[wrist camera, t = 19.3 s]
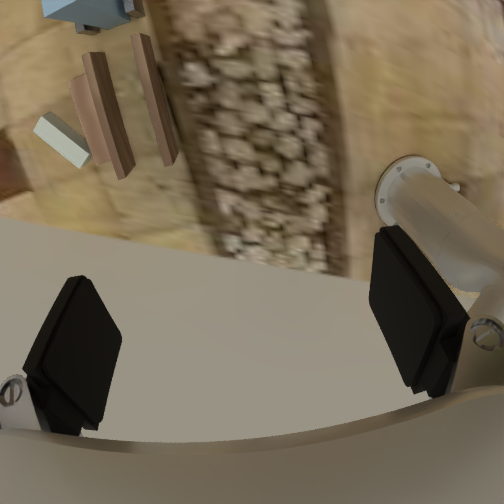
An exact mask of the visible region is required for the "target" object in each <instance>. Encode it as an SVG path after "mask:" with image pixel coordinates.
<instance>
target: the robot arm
mask: <svg viewBox="0 0 504 504" xmlns="http://www.w3.org/2000/svg"><path fill="white" fill-rule="evenodd" d="M459 190H460V186H459V184H458V183H452V184H448V183H447V182H446V181H444V180H443V179H442V176H441V174H440V171H439V170H438V168H437V167H436V165H435V164H434V163H432V162H431V161H430V160H428V159H426V158H424V157H421V156H415V155H413V156H407V157H404V158H401V159H399V160H397V161H396V162H394V163H393V164H392V165H391V166H389V168H388V169H387V170H386V171H385V172H384V174H383V175H382V177H381V179H380V181H379V183H378V186H377V189H376V194H375V204H376V209H377V212H378V214H379V216H380V218H381V219H382V220H383V221H384V223H385V224H387V225H388V226H386V227H382V228H380V231H379V232H378V233H376V234H375V240H374V252H373V263H372V273H371V282H370V291H369V304H370V307H371V309H372V311H373V313H374V316H375V318H376V320H377V322H378V324H379V326H380V329H381V331H382V333H383V335H384V337H385V340H386V342H387V344H388V346H389V348H390V350H391V353H392V355H393V358H394V360H395V362H396V365H397V367H398V369H399V372H400V374H401V376H402V379H403V381H404V383H405V385H406V386H407V387H410V386H411V389H412V391H413V393H414V394H417V393H420V392H423V391H427V394H428V396H429V397H430V399H429V400H427V401H424V402H421V403H418V404H415V405H411V406H408V407H405V408H402V409H398V410H395V411H391V412H388V413H384V414H380V415H377V416H373V417H369V418H365V419H361V420H357V421H353V422H349V423H344V424H340V425H335V426H331V427H326V428H321V429H315V430H310V431H304V432H298V433H292V434H285V435H278V436H271V437H262V438H253V439H243V440H231V441H215V442H188V443H161V442H133V441H118V440H106V439H96V438H88V437H83V435H82V433H81V428H82V427H83V428H84V429H86V430H96V431H97V430H98V426H99V423H100V422H101V421H102V419H103V416H104V411H105V406H106V402H107V397H108V393H109V389H110V385H111V381H112V377H113V373H114V369H115V365H116V362H117V358H118V354H119V350H120V346H121V343H122V336H121V333H120V331H119V329H118V328H117V326H116V324H115V323H114V321H113V319H112V317H111V316H110V314H109V312H108V311H107V309H106V307H105V305H104V303H103V302H102V300H101V298H100V296H99V294H98V293H97V291H96V289H95V287H94V285H93V283H92V281H91V280H90V279H87V278H86V277H85V276H83V275H81V276H74V277H70V278H68V279H67V281H66V282H65V284H64V286H63V288H62V289H61V291H60V293H59V295H58V297H57V299H56V300H55V302H54V304H53V306H52V308H51V310H50V312H49V314H48V316H47V317H46V319H45V321H44V323H43V325H42V327H41V329H40V331H39V333H38V335H37V337H36V339H35V342H34V344H33V346H32V348H31V350H30V352H29V354H28V357H27V359H26V361H25V364H24V366H23V368H22V369H23V371H24V372H25V373H26V374H27V378H26V379H25V378H24V377H23V376H22V375H18V374H16V375H12V376H10V377H8V378H7V379H6V380H5V381H4V382H3V383H2V384H1V386H0V504H504V230H503V229H502V228H501V227H500V226H498V225H497V224H496V223H495V222H494V221H492V220H491V219H490V218H489V217H488V216H486V215H485V214H484V213H483V212H482V211H480V210H479V209H478V208H477V207H475V206H474V205H473V204H472V203H470V202H469V201H468V200H467V199H465V198H464V197H463V196H462V195H460V194H459V193H458V191H459ZM404 230H405V232H406V233H407V234H408V235H409V236H410V237H411V238H412V240H413V241H414V242H415V243H416V244H417V245H418V247H419V248H420V249H421V250H422V251H423V253H424V254H425V255H426V256H427V257H428V259H429V260H430V261H431V262H432V263H433V265H434V266H435V267H436V268H437V270H438V271H439V272H440V273H441V275H442V276H443V277H444V278H445V280H446V281H447V282H448V283H449V284H451V285H452V286H453V287H455V288H457V289H459V290H463V291H469V292H480V295H479V297H478V298H477V299H476V301H475V302H474V304H473V305H472V307H471V308H470V310H469V311H468V312H466V311H465V309H464V308H463V307H462V305H461V304H460V302H459V301H458V299H457V298H456V296H455V295H454V294H453V292H452V291H451V290H450V288H449V287H448V286H447V284H446V283H445V282H444V280H443V279H442V278H441V276H440V275H439V274H438V272H437V271H436V270H435V268H434V267H433V266H432V265H431V263H430V262H429V261H428V259H427V258H426V257H425V256H424V254H423V253H422V252H421V251H420V250H419V248H418V247H417V246H416V245H415V243H414V242H413V241H412V240H411V239H410V237H409V236H408V235H407V234H406V233H405V232H404Z"/></svg>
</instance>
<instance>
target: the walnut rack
mask: <svg viewBox="0 0 504 504" xmlns="http://www.w3.org/2000/svg"><path fill="white" fill-rule="evenodd" d="M131 40H132V44H133V49H134V53H135V57H136V62H137V66H138V70H139V74H140V78H141V82H142V86H143V90H144V94H145V98H146V102H147V105H148V109H149V113H150V117H151V120H152V124H153V128H154V131H155V135H156V138H157V142H158V145H159V149H160V152H161V156H162V159H163V162H164V166H165V167H166V166H170V165H173V164H174V162H175V159H176V157H177V155H178V149H177V146H176V142H175V138H174V134H173V131H172V127H171V123H170V119H169V115H168V111H167V107H166V104H165V100H164V96H163V92H162V87H161V83H160V79H159V75H158V71H157V67H156V63H155V58H154V54H153V50H152V45H151V41H150V36H147V35H144V34H141V33H138V34H135V35H132V36H131ZM82 59H83V64H84V68H85V72H86V76H87V80H88V84H89V87H90V91H91V95H92V98H93V102H94V106H95V109H96V112H97V116H98V119H99V123H100V126H101V129H102V132H103V136H104V139H105V142H106V145H107V148H108V151H109V154H110V157H111V160H112V163H113V166H114V169H115V172H116V175H117V177H118V180H120V179H123V178H126V177H127V175H128V174H129V173H130V171H131V170H132V169H133V167H134V166H135V165H136V164H135V160H134V157H133V154H132V151H131V148H130V145H129V141H128V138H127V135H126V131H125V128H124V125H123V121H122V118H121V114H120V111H119V107H118V104H117V100H116V96H115V92H114V89H113V85H112V81H111V77H110V73H109V69H108V65H107V61H106V57H105V53H103V52H88V53H86V54H84V55H82Z"/></svg>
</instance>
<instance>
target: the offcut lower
mask: <svg viewBox="0 0 504 504" xmlns="http://www.w3.org/2000/svg"><path fill="white" fill-rule="evenodd" d="M68 86H69V89H70V92H71V96H72V99H73V102H74V105H75V108H76V111H77V114H78V117H79V120H80V123H81V126H82V129H83V132H84V135H85V138H86V141H87V143H88V146H89V149H90V151H91V154H92V157H93V159H94V162H95V165H96V166H97V165H99V164H102V163H105V162H107V161H110V160H111V157H110V154H109V151H108V148H107V145H106V142H105V139H104V136H103V132H102V129H101V126H100V123H99V119H98V116H97V112H96V109H95V106H94V102H93V98H92V95H91V91H90V87H89V84H88V80H87V76H86V73H85V74H83V75H81V76H79V77H77V78H75V79H73V80H71V81H69V82H68Z"/></svg>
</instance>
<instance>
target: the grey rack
mask: <svg viewBox="0 0 504 504" xmlns="http://www.w3.org/2000/svg"><path fill="white" fill-rule="evenodd" d="M123 2H124V7H125V12H126V13H127V14H129V15H131V16H133V17H135V18H140V17H143V16H145V13H144V8H143V4H142V0H123ZM75 27H76V32H77V33H79V34H86V35H95V34H98V33H100V30H99V27H95V26H90V25H85V24H80V23H75Z"/></svg>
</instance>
